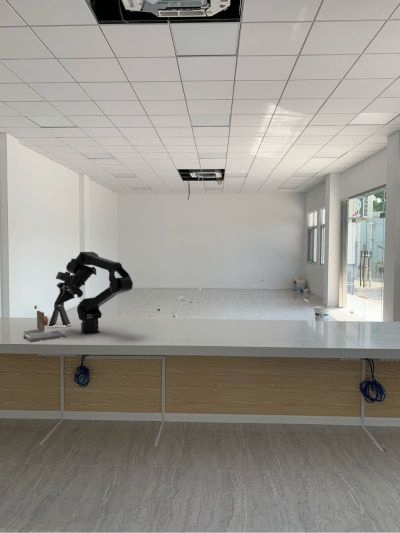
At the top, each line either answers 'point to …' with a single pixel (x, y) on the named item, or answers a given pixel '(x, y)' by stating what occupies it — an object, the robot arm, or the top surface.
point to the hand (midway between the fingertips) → (55, 304)
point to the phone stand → (63, 315)
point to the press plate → (41, 321)
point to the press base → (41, 335)
